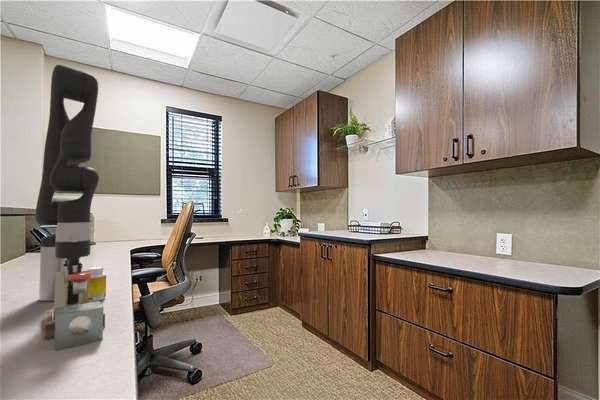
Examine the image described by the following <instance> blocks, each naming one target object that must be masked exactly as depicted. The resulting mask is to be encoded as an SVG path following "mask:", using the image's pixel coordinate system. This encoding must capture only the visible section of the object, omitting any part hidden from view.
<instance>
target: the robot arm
mask: <svg viewBox="0 0 600 400" xmlns="http://www.w3.org/2000/svg"><path fill="white" fill-rule="evenodd" d="M98 81H99V80H98V78H97V77H96V76H95V75H93V74H91V73H88V72H86V71H81V70H78V69H76V68H73V67H70V66H67V65H62V64H56V65H55V66H54V67H53V69H52V74H51V84H50V100H49V101H50V103H49V116H48V117H49V118H48V124H47V125H48V126H47V131H46V137H45V143H44V151H43V163H42V176H41V181H40V187H39V192H38V196H37V197H38V198H37V202H36V208H35V221H36V223H37V224H38V225H40V226H56V230H55V233H53V234H50V235H46V236H44V237H42V238H41V241H40V256H39V257H40V259H39V261H40V263H39V264H40V265H39V288H38V289H39V290H38V291H39V292H38V293H39V294H38V300H39V302H40V301H41V302H51V301H53V302H54V298H55V280H56V273H60V272H65V282H68V286H67V289H68V305H73V304H77V303H78V301H79V294H73V284H71V281H69V275H70V274H75V273H82V270H83V268H84V265H83V263H82V262H80V258H85V257H88V256H90V255H91V240H92V239H91V237H92V235H91V234H92V230H91V208H92V207H91V206H92V201H93V199H94V196H95V195H94V194H95V192H96V190H97V187H98V184H99V181H100V176H99V173H98V172H97V170H96V169H95V168H93V167H89V166H88V167H87V166H80V165H81V164H84V163H88V162H89V161H90V160H91V159H92V132H93V125H94V121H95V115H96V110H97V103H98V95H99V82H98ZM65 99H66V100H69V101H70V100H71V101H74V102H79V103H81V104H83V106H82V108H81V110H80V111H79V112H78V113H77V114H76V115H75V116H73V117H72V118H70V117H69V115H68V113H67V111H66V107H65V103H64V101H65ZM56 191H57V192H62V193H63V192H66V193H69V192H70V193H71V192H72V193H82V195H81V196H79V198H73V197H72V198H71V197H66V198H65V197H54V195H55V193H56ZM68 273H69V275H68V276H67V274H68ZM72 282H73V281H72Z"/></svg>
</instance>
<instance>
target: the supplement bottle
mask: <svg viewBox="0 0 600 400" xmlns="http://www.w3.org/2000/svg"><path fill="white" fill-rule="evenodd" d="M88 270H89V272H90V273H91V278H90V279H89V286H88V303H90V302H96V301H103V300H104V299H105V298H106V297H107V296H106V295H107V293H106V292H107V273H106V272H105V271H104V267H103V266H95V267H89V268H88Z"/></svg>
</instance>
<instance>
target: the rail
mask: <svg viewBox="0 0 600 400" xmlns="http://www.w3.org/2000/svg"><path fill="white" fill-rule="evenodd" d="M43 320H44V321H43V324H44V325H43V326H44V328H43V331H44V341H47V340H48V341H49V340H54V325H55V322H54V320H53V310H52V309H50V310H45V311H44V312H43ZM103 328H106V314H105V313H104V312H103Z"/></svg>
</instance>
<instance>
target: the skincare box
mask: <svg viewBox="0 0 600 400" xmlns="http://www.w3.org/2000/svg"><path fill="white" fill-rule="evenodd" d="M84 272H89V269H82V273H84ZM68 275H69V273H68V274H67V276H68ZM71 284H73V282H72V281H71ZM67 286H68V282H65V272H60V273H56V280H55V298H54V300H53V314H52V316H53V321H55V309H56V308H61V307H67V306H73V305H79V304H85V303H89V302H88V286H89V279H87V292H85V293H81V294H79V301H78V303H77V304H73V305H68V289H67Z"/></svg>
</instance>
